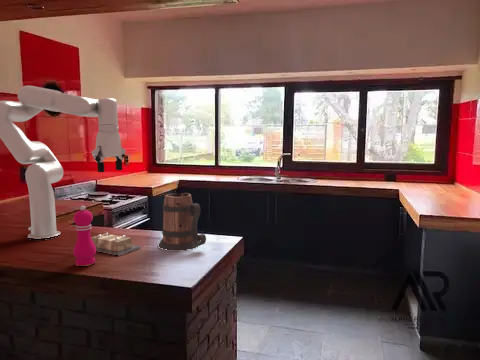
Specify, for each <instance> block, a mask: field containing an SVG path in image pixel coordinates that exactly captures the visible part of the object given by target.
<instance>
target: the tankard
mask: <svg viewBox="0 0 480 360" xmlns="http://www.w3.org/2000/svg"><path fill="white" fill-rule="evenodd" d="M162 211H163V212H162V215H163V217H162V222H163V223H162V232H161V233H162V238H161V240H160V241H159V243H158V244H159V247H160V248H163V249H167V250H185V251H188V250H187V249H191V250H194V249H197V248H199V247H200V246H202V245H205V244H206V242H207V236H206V234H204V233H200V234H199V233H198V221H199V219H200V216H201V206H200V204H199V203H193V199H192V194H191V193H189V192H181V193H168V194H165V195H164V199H163V204H162ZM198 246H199V247H198ZM196 247H197V248H196ZM160 248H159V249H160ZM193 248H194V249H193ZM167 250H166V251H167Z"/></svg>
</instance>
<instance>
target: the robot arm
mask: <svg viewBox="0 0 480 360" xmlns="http://www.w3.org/2000/svg"><path fill="white" fill-rule="evenodd" d="M17 99H18V101H13V100H0V140H1V141H2V143H4V145H5V147H6V148H7V149H8V151H9V152H10V153H11V154H12V156H13V158H14V159H15V160H16V161H17V163H19V164H21V165H29V166H28V167H27V169H26V170H25V174H24V175H25V178H24V179H25V183H26V184H27V188H28V189H27V190H28V199H29V210H30V211H29V212H30V213H29V214H30V223H31V224H30V225H31V226H29V227H28V231H30V233H29V234H28V235H27V239H28V238H34V239H41V238H50V237H54V236H58V235H60V234H61V231H59V230H57V220H56V219H57V216H56V215H57V214H56V200H55V199H56V198H55V191H54V189H53V187H52V186H53V185H52V184H55V183H58V182H59V181H61V180H62V178H63V177H64V168H63V166H62V164H61V163H60V162H59V160H58V159H57V157H56V156H55V155H54V153H53V152H52V151H51V149H50V147H48V146H47V145H46V144H45V143H43V142H41V141H38V140H36V141H35V140H34V141H33V140H32V141H31V140H30V139H29V138H28V137H27V136H26V134H25V132H24V131H23V130H22V129H21V128H20V127H19V126H18V125H16V124H15V123H17V122H19V123H24V122H26V121H28V120H30V119H32V118H33V117H35V116H36V115H39V113H41V112H42V111H43V110H45V111H46V110H47V111H50V112H56V113H57V112H59V113H63V114H67V115H68V114H69V115H73V116H78V117H79V116H80V117H86V118H87V117H88V118H97V119H98V120H97V121H98V122H97V123H98V124H97V125H98V132H96V141H95V149H93V150H91V154H92V157H93V159H94V160H95V162H96V163H97V164H96V165H97V167H96V168H97V172H98V173H105V161H104V160H105V158H113V157H114V158H115V162H114V163H115V170H116V171H123V161H124V158H125V155H126V153H127V152H126V151H127V150H126V149H125V148H123V147H122V141H121V136H120V133H119V130H120V127H119V119H118V117H119V116H118V103H117V99H115V98H113V97H102V98H99V99H96V98H90V97H85V96H79V95H74V94H68V93H65V92H64V93H63V92H61V91H59V90H57V89H56V90H55V89H50V88H45V87H41V86H40V87H39V86H34V85H23V86H21V87H20V88H19V89H18V91H17ZM14 122H15V123H14ZM30 164H31V165H30ZM60 236H61V235H60ZM58 237H59V236H58Z"/></svg>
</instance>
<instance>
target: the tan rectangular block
mask: <svg viewBox="0 0 480 360" xmlns="http://www.w3.org/2000/svg"><path fill="white" fill-rule="evenodd" d="M115 237H118V241H115ZM91 238H92V240H93V242H94V244H95V247H98V248H103V249H108V250H113V251H121V250H124V249H127V248H130V247H132V245H133V244H132V237H129V236H128V237H127V236H125V239H122V235H115V234H112V233H111V234H110V233H108V236H105V233H103V234H102V233H101V238H98V235H94V236H91Z"/></svg>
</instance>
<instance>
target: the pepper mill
mask: <svg viewBox="0 0 480 360" xmlns="http://www.w3.org/2000/svg"><path fill="white" fill-rule="evenodd" d="M93 217H94V216H93V213H92V212H91V211H90V210H88V209H86V206H85V205H81V206H80V207H79V210H78V211H76V212H75V213H74V214H73V219H72V220H73V222H74V224H76V225H75V231H76V232H77V236H76V237H77V238H76V241H75V243H74V246H73V250H72V251H73V253H72V254H73V256H74V257H75V258H76V259H75V261H74V262H75V263H76V264H77V265H87V264H92V263H94V262H95V263H96V257H95V255H96V254H97V252H96V247H95V244H94V242H93V240H92V238H91V237H92V236H91V229H93V228H92V224H91V223H92V221H93V220H94V218H93ZM76 264H75V265H76Z"/></svg>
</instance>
